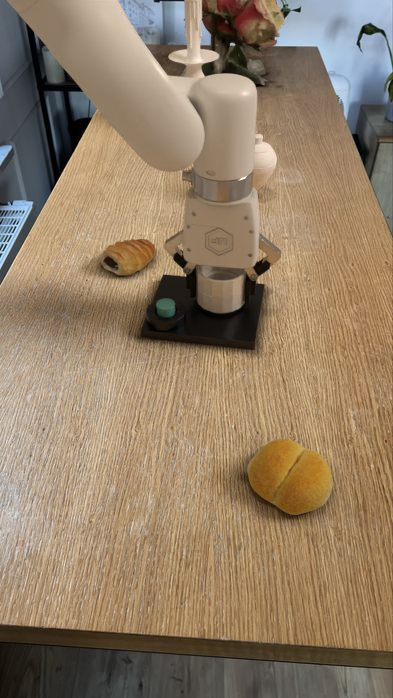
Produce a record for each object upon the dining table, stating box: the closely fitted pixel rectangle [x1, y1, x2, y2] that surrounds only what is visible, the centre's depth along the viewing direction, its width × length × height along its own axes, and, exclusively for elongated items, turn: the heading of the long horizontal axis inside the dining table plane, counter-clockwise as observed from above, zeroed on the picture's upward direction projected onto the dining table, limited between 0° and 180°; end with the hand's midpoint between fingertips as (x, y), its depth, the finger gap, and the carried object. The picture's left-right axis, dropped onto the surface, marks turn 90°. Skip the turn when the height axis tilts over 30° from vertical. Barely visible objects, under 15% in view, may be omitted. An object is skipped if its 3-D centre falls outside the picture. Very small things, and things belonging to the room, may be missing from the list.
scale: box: [140, 274, 266, 351], centre depth 86 cm, size 16×14×3 cm
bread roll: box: [246, 438, 334, 516], centre depth 63 cm, size 8×9×4 cm
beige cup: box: [196, 265, 247, 313], centre depth 85 cm, size 7×7×6 cm
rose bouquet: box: [175, 0, 285, 86], centre depth 162 cm, size 26×29×30 cm
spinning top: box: [253, 133, 278, 192], centre depth 110 cm, size 8×8×12 cm
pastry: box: [99, 238, 156, 276], centre depth 96 cm, size 9×7×4 cm
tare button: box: [156, 298, 175, 318], centre depth 82 cm, size 3×3×2 cm
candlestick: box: [167, 0, 220, 78], centre depth 131 cm, size 21×25×28 cm
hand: (221, 294), depth 86 cm, fingers closed on beige cup, 7 cm apart
